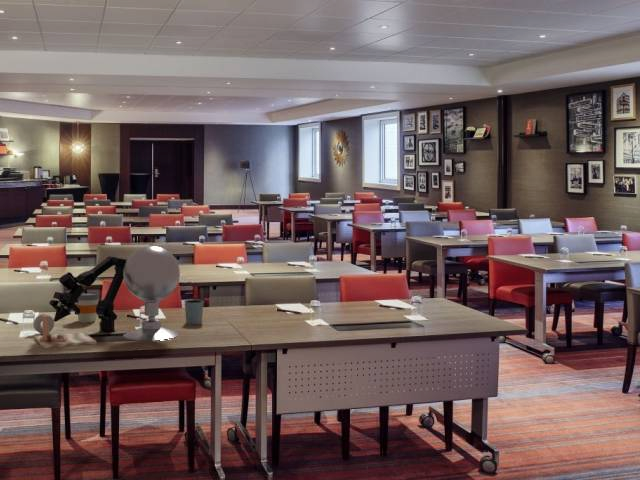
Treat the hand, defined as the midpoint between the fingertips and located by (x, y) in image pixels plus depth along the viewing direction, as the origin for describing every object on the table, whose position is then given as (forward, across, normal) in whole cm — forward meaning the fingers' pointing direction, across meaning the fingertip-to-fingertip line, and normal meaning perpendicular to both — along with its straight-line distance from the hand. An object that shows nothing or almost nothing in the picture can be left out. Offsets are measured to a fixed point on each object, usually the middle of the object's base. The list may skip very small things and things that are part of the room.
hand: (54, 321), depth 407 cm
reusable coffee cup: (-21, -29, +36) cm, 50 cm away
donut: (+3, -17, +11) cm, 21 cm away
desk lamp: (-21, +23, +36) cm, 48 cm away
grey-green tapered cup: (-46, +15, +62) cm, 79 cm away
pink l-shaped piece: (+8, +4, +3) cm, 10 cm away
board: (+5, +5, +8) cm, 11 cm away
